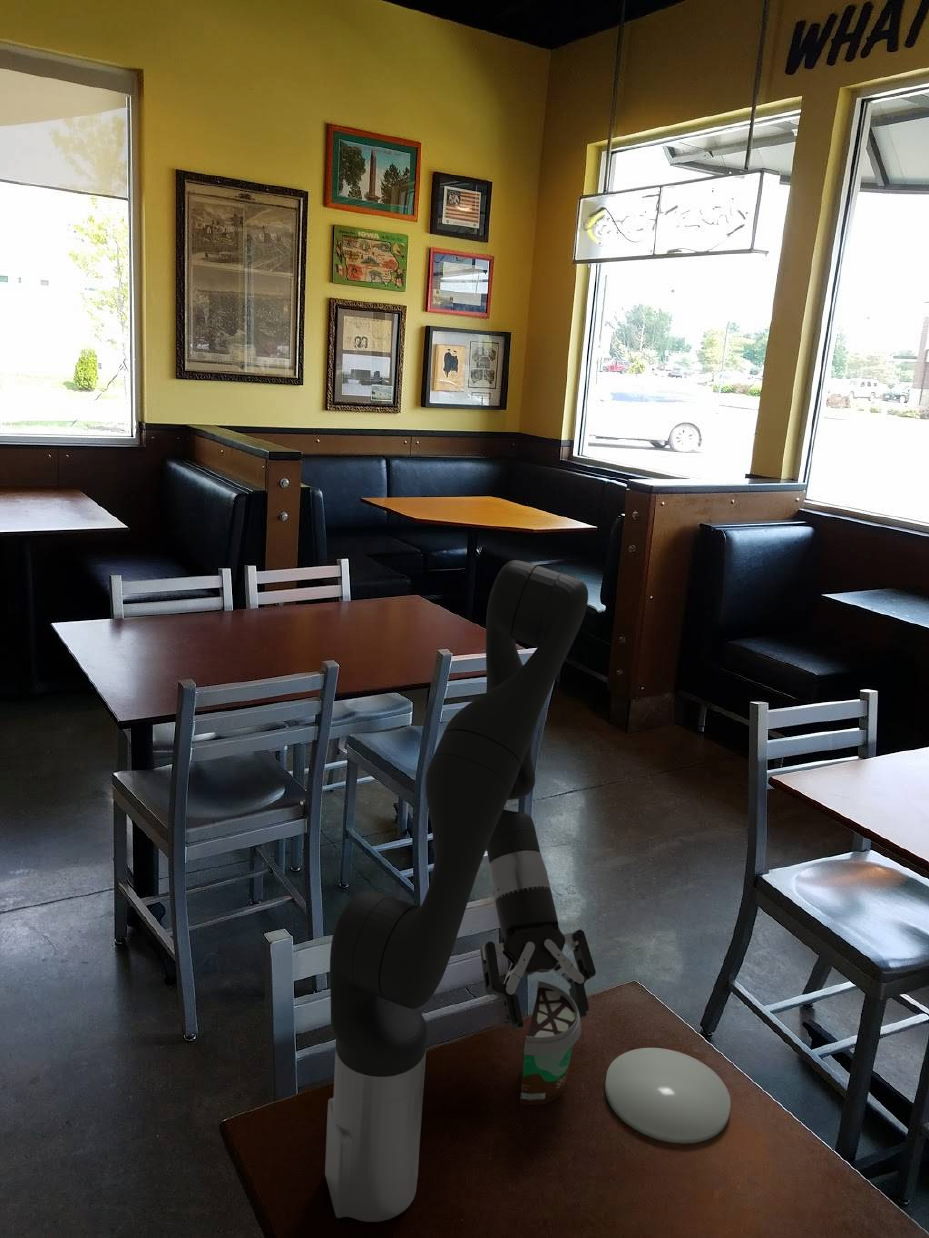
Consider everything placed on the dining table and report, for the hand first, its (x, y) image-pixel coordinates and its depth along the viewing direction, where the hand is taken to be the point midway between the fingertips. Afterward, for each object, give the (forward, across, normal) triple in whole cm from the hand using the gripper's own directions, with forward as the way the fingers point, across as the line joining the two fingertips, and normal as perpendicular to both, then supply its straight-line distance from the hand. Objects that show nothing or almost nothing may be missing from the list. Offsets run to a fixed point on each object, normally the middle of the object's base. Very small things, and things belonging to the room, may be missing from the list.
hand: (550, 1022), depth 120 cm
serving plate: (+10, +13, 0) cm, 17 cm away
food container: (+6, 0, +4) cm, 8 cm away
